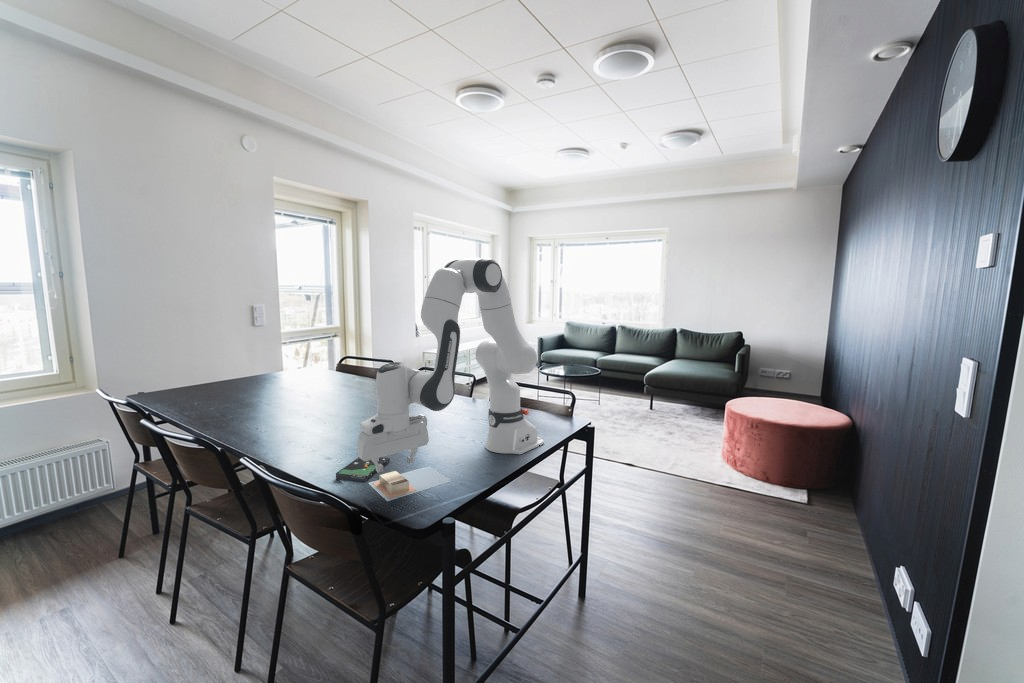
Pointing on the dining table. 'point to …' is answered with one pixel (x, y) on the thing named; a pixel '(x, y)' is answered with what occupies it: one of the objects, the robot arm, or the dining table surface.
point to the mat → (413, 482)
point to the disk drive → (360, 469)
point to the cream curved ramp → (394, 482)
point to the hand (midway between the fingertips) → (395, 466)
